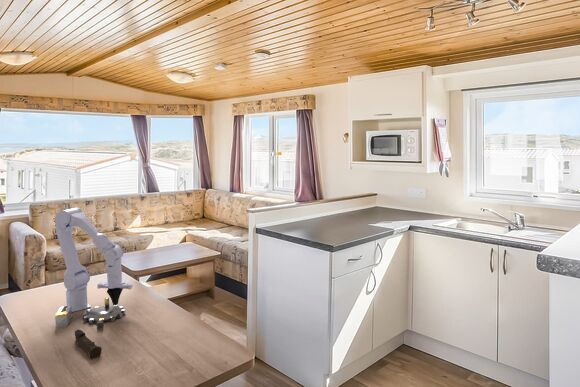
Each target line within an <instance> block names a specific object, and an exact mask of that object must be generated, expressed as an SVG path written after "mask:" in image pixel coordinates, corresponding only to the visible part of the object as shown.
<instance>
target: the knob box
mask: <svg viewBox="0 0 580 387" xmlns="http://www.w3.org/2000/svg"><path fill="white" fill-rule="evenodd" d="M72 318H73V312H72V307H71V306H65V305H64V306H60V307H59V309H58V311H57V312H56V313H55V317H54V320H55V329H61V328H68V327H69V324H70V322H71V320H72Z"/></svg>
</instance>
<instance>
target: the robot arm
mask: <svg viewBox="0 0 580 387" xmlns="http://www.w3.org/2000/svg"><path fill="white" fill-rule="evenodd" d="M54 221H55V233H56V235H57V240H58V243H59V245H60V249H61V253H62V254H61V255H62V256H63V260H64V264H65V268H66V270H65V271H64V273H63V285H64V287H65V289H66V292H65V293H66V294H65V296H66V304H65V305H64V306H71V307H72V313H75V312H78V311H82V310H86V309H89V308H91V307H92V305H90V304H89V303H88V283H89V282H90V281H91V280H90V279H91V276H90V273H89V272H88V271H87V269H86V268H87V267H85V266H84V265H82V264H81V261H80V258H79V255H78V251H77V248H76V244H75V241H74V237H73V233H72V230H73V229H74V227H79V228H80V229H81V230H83V231H84V232H85V233H86V234H87V235H88V236H89V237H90V238H92V243H93V245H94V246H95V247H97V249H98V250H100V252H101V253H103V254H102V255H103V259H104V260H105V264H106V271H107V272H106V274H107V278H106V279H107V281H106V282H99V283H97V289H107V290H106V293H107V295H108V297H109V299H110V300H111V302H112V303H111V304H112V305H118V304H119V299H120V297H121V294H122V292H123V291H124V289H125V290H126V289H127V290H131V289H133V283H129V282H123V278H122V277H123V276H122V275H123V274H122V273H123V272H122V257H123V256H124V253H125V252H124V249H123V247H122V246H121V245H119V244H116V243H114V242H113V241H112V240H111V239H110V238H109V235H107V234H105V233H101V232H99V231H98V229H97V228H96V227H95V226H94V224H92V222H91V221H90V220H89V219H88V218H87V216H86V213H85V212H84V211H83V210H82V209H81V208H79V207H73V208H67V209H64V210H59V211H58V212H57V213H56V215H55V216H54Z"/></svg>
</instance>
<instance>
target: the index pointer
mask: <svg viewBox="0 0 580 387" xmlns="http://www.w3.org/2000/svg"><path fill="white" fill-rule="evenodd" d="M104 323H105V322H103V320H98V321H97V322H96V330H103V329H104V325H105V324H104Z"/></svg>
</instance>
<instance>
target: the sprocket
mask: <svg viewBox="0 0 580 387" xmlns="http://www.w3.org/2000/svg"><path fill="white" fill-rule="evenodd" d="M125 313H126V308H124V306H123V305H121V306H119V305H118V304H117V305H113V304H112V305H111V304H110V297H109V296H107V297H104V305H100V306H98V305H97V306H94V307H93V308H91V309H89V308H87V310H86V309H85V312H83V313H82V320H83V322H88V323H89V324H94V323H97V321H98V320H103V322H104V323H105V322H114V321H115V319H117V318H118V319H121V318H122V317H123V315H124V314H125Z"/></svg>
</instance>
